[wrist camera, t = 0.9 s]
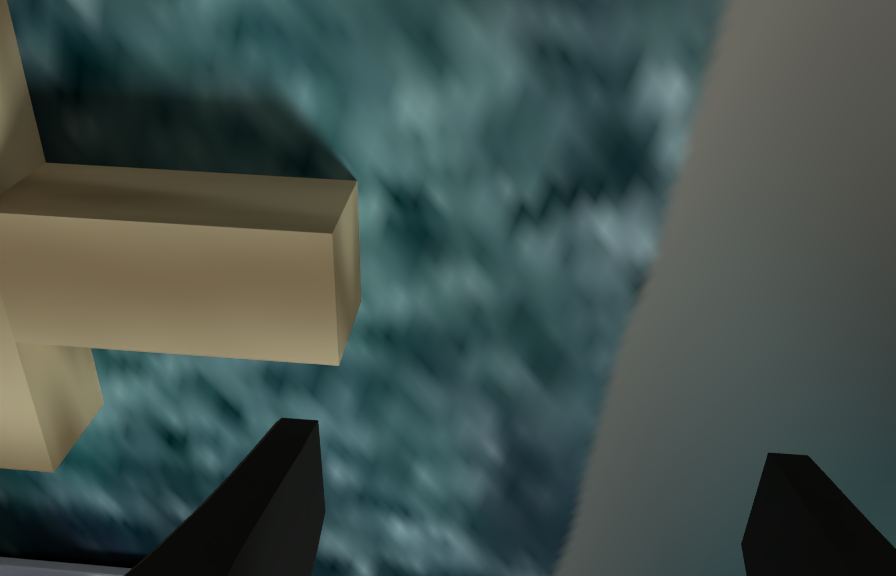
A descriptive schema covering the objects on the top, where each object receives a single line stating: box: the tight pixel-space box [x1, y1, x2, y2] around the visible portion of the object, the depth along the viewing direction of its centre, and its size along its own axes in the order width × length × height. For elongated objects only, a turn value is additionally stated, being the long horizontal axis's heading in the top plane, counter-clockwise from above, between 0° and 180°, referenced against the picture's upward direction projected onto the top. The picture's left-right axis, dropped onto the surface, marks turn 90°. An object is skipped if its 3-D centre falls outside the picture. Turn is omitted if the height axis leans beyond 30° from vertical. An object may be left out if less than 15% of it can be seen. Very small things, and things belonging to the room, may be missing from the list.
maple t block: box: [0, 0, 361, 472], centre depth 20 cm, size 12×12×3 cm
